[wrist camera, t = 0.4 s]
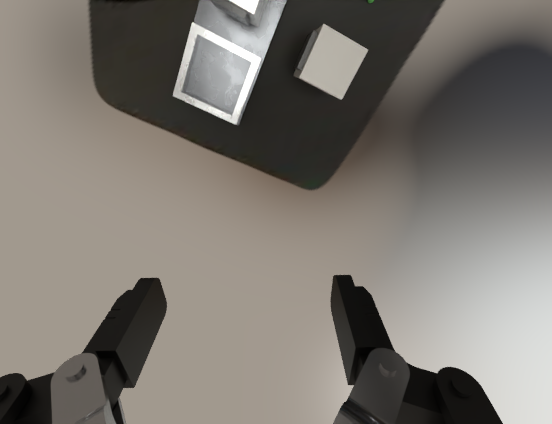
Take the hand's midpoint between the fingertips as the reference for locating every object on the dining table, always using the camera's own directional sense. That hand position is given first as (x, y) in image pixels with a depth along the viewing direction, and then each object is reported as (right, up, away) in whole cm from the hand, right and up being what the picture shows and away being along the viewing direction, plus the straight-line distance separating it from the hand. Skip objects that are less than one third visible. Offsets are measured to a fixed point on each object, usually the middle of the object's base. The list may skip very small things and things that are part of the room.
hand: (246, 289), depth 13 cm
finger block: (+6, +21, +19) cm, 29 cm away
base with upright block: (-4, +23, +17) cm, 29 cm away
